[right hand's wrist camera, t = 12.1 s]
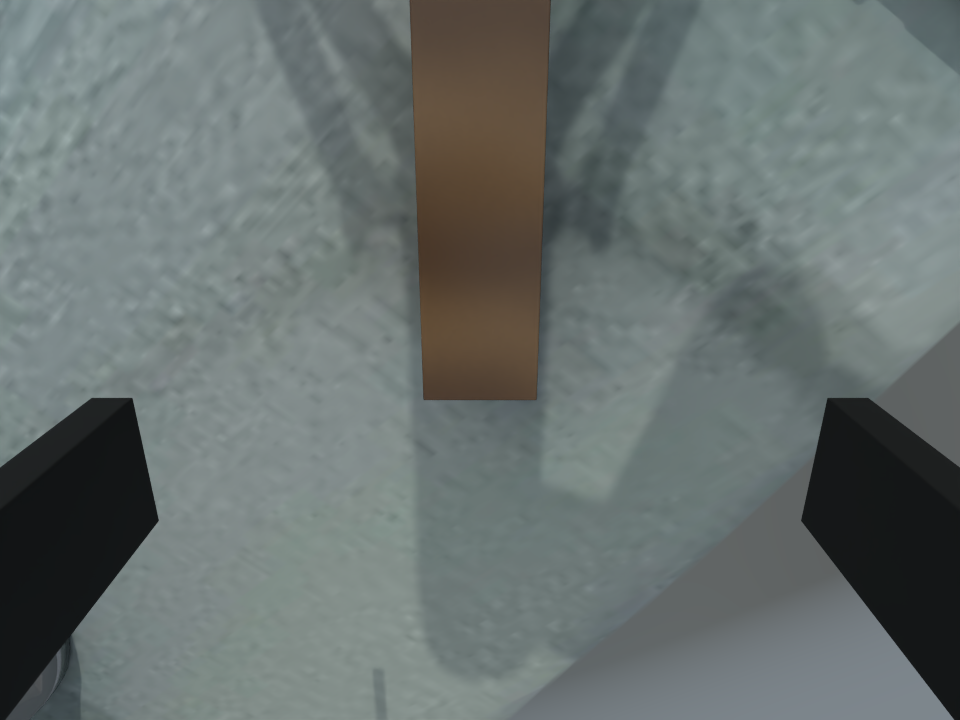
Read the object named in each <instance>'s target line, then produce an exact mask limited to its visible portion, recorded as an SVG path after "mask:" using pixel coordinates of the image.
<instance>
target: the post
mask: <svg viewBox="0 0 960 720" xmlns="http://www.w3.org/2000/svg"><path fill="white" fill-rule="evenodd" d="M550 6H551V0H410V22H411V51H412V80H413V109H414V138H415V167H416V195H417V224H418V253H419V282H420V311H421V340H422V369H423V398H424V400H536V399H537V374H538V346H539V317H540V289H541V261H542V233H543V204H544V176H545V148H546V119H547V91H548V63H549V35H550Z"/></svg>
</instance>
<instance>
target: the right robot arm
mask: <svg viewBox="0 0 960 720" xmlns="http://www.w3.org/2000/svg"><path fill="white" fill-rule="evenodd" d="M158 521H159V519H158V515H157V510H156V505H155V501H154V496H153V492H152V487H151V482H150V478H149V473H148V468H147V464H146V459H145V454H144V450H143V445H142V440H141V436H140V431H139V427H138V422H137V417H136V413H135V408H134V403H133V399H132V398H91V399H90V400H89V401H87V402H86V403H85V404H83V405H82V406H81V407H79V408H78V409H77V410H75V411H74V412H73V413H71V414H70V415H69V416H67V417H66V418H65V419H64V420H62V421H61V422H60V423H58V424H57V425H56V426H54V427H53V428H52V429H50V430H49V431H48V432H46V433H45V434H44V435H42V436H41V437H40V438H39V439H37V440H36V441H35V442H33V443H32V444H31V445H29V446H28V447H27V448H25V449H24V450H23V451H21V452H20V453H19V454H17V455H16V456H15V457H14V458H12V459H11V460H10V461H8V462H7V463H6V464H4V465H3V466H2V467H0V720H29V719H31V718H32V717H33V716H34V715H35V714H36V712H37V711H38V710H39V709H40V708H41V707H42V706H43V705H44V704H45V703H46V701H47V700H48V699H49V697H50V696H51V695H52V693H53V692H54V691H55V689H56V688H57V686H58V685H59V684H60V682H61V680H62V679H63V677H64V675H65V672H66V670H67V667H68V663H69V655H70V645H69V637H70V635H71V634H72V633H73V632H74V630H75V629H76V628H77V626H78V625H79V624H80V622H81V621H82V620H83V619H84V617H85V616H86V615H87V613H88V612H89V611H90V609H91V608H92V607H93V606H94V604H95V603H96V602H97V600H98V599H99V598H100V596H101V595H102V594H103V593H104V591H105V590H106V589H107V587H108V586H109V585H110V583H111V582H112V581H113V580H114V578H115V577H116V576H117V574H118V573H119V572H120V570H121V569H122V568H123V567H124V565H125V564H126V563H127V561H128V560H129V559H130V557H131V556H132V555H133V554H134V552H135V551H136V550H137V548H138V547H139V546H140V544H141V543H142V542H143V541H144V539H145V538H146V537H147V535H148V534H149V533H150V531H151V530H152V529H153V528H154V526H155V525H156V524H157V522H158ZM801 521H802V522H803V524H804V525H805V526H806V528H807V529H808V530H809V531H810V533H811V534H812V535H813V537H814V538H815V539H816V541H817V542H818V543H819V544H820V546H821V547H822V548H823V550H824V551H825V552H826V554H827V555H828V556H829V557H830V559H831V560H832V561H833V563H834V564H835V565H836V567H837V568H838V569H839V570H840V572H841V573H842V574H843V576H844V577H845V578H846V580H847V581H848V582H849V583H850V585H851V586H852V587H853V589H854V590H855V591H856V593H857V594H858V595H859V596H860V598H861V599H862V600H863V602H864V603H865V604H866V606H867V607H868V608H869V609H870V611H871V612H872V613H873V615H874V616H875V617H876V619H877V620H878V621H879V622H880V624H881V625H882V626H883V628H884V629H885V630H886V632H887V633H888V634H889V635H890V637H891V638H892V639H893V641H894V642H895V643H896V645H897V646H898V647H899V648H900V650H901V651H902V652H903V654H904V655H905V656H906V657H907V659H908V660H909V661H910V663H911V664H912V665H913V667H914V668H915V669H916V671H917V672H918V673H919V674H920V676H921V677H922V678H923V680H924V681H925V682H926V684H927V685H928V686H929V687H930V689H931V690H932V691H933V693H934V694H935V695H936V696H937V698H938V699H939V700H940V702H941V703H942V704H943V706H944V707H945V708H946V709H947V711H948V712H949V713H950V715H951V716H952V717H953V719H954V720H960V467H958V466H957V465H956V464H954V463H953V462H952V461H950V460H949V459H948V458H946V457H945V456H944V455H943V454H941V453H940V452H938V451H937V450H936V449H935V448H933V447H932V446H931V445H929V444H928V443H927V442H925V441H924V440H923V439H921V438H920V437H919V436H917V435H916V434H915V433H914V432H912V431H911V430H910V429H908V428H907V427H906V426H904V425H903V424H902V423H900V422H899V421H898V420H896V419H895V418H894V417H892V416H891V415H890V414H889V413H887V412H886V411H885V410H883V409H882V408H881V407H879V406H878V405H877V404H875V403H874V402H873V401H871V400H870V399H869V398H828V399H827V403H826V408H825V413H824V417H823V422H822V427H821V431H820V436H819V440H818V445H817V450H816V454H815V459H814V464H813V468H812V473H811V478H810V482H809V487H808V492H807V496H806V501H805V505H804V510H803V515H802V520H801Z"/></svg>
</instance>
